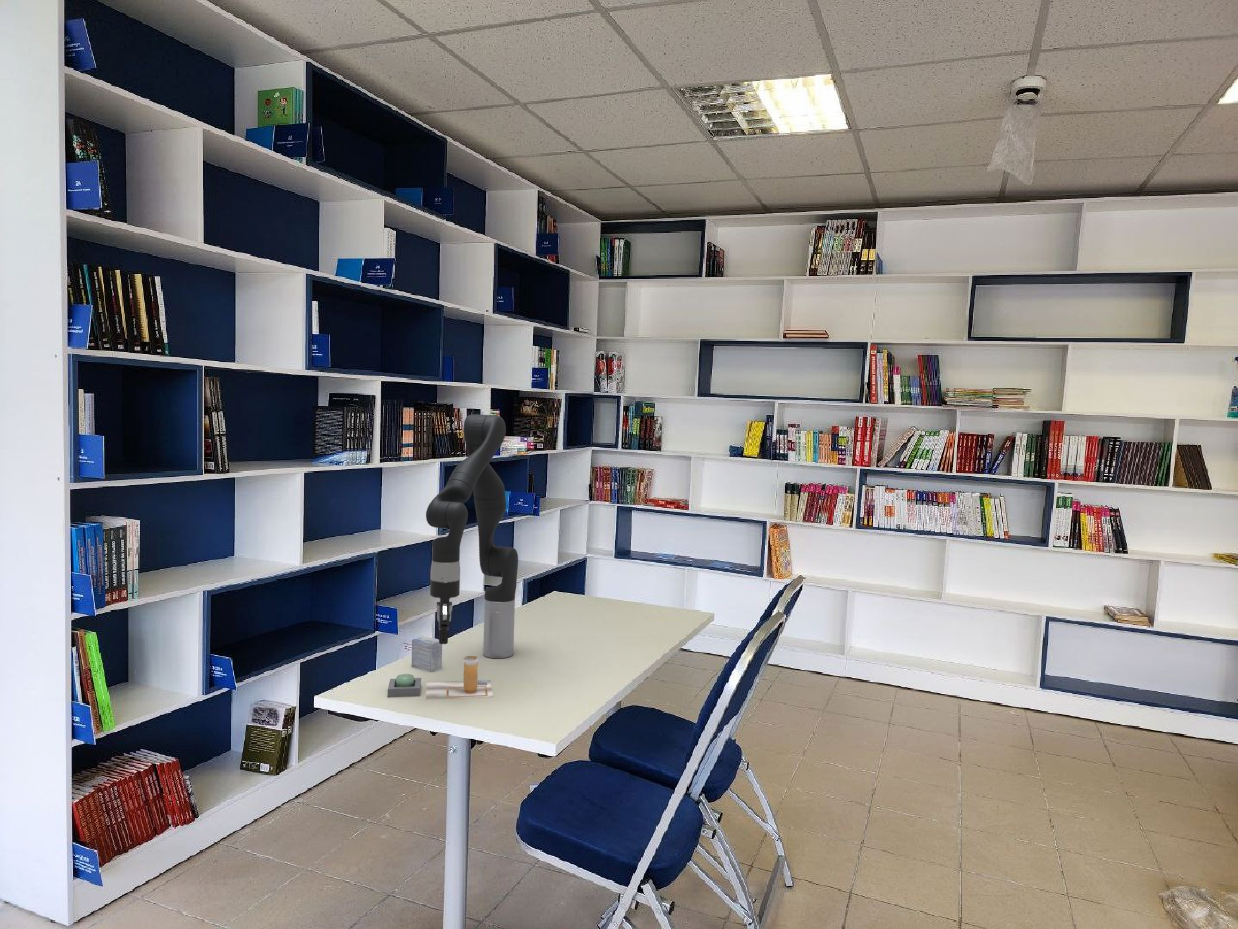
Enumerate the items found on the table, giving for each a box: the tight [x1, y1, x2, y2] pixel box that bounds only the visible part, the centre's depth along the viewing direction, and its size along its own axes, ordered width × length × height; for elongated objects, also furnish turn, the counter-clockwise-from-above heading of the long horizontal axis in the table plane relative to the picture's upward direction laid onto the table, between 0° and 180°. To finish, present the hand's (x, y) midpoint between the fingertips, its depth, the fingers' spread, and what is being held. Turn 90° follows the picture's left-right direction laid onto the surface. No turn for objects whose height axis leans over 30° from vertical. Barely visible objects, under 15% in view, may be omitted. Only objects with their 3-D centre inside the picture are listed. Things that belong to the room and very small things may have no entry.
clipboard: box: [425, 679, 494, 700], centre depth 213 cm, size 14×19×1 cm
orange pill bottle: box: [463, 655, 479, 693], centre depth 211 cm, size 4×4×9 cm
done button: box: [395, 673, 415, 687], centre depth 210 cm, size 4×4×2 cm
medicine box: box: [411, 635, 443, 673], centre depth 230 cm, size 8×4×9 cm, turn 60°
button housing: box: [387, 677, 422, 698], centre depth 210 cm, size 8×8×2 cm
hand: (443, 643), depth 210 cm, fingers closed
